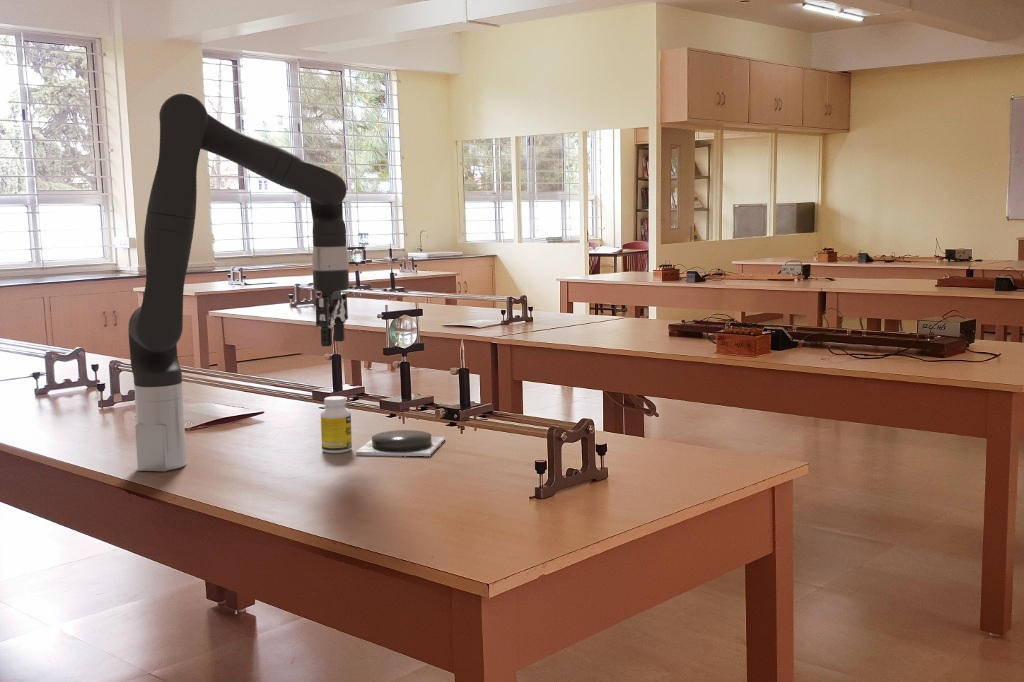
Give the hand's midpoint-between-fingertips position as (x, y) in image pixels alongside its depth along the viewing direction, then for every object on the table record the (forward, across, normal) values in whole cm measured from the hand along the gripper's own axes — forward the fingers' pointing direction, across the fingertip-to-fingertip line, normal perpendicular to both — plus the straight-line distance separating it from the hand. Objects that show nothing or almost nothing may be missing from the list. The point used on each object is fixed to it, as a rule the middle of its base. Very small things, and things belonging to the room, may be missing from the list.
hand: (333, 343), depth 214 cm
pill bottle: (+24, 0, 0) cm, 24 cm away
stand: (+24, +4, -14) cm, 27 cm away
